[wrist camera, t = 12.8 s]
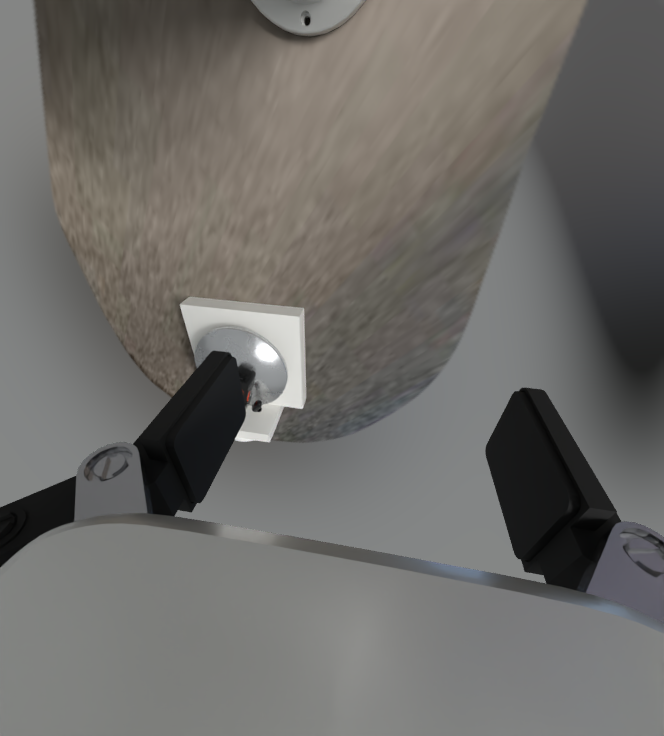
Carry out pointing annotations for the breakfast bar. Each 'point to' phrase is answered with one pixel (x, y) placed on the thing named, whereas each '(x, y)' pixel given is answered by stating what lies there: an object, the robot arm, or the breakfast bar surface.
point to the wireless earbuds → (248, 387)
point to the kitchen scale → (254, 353)
